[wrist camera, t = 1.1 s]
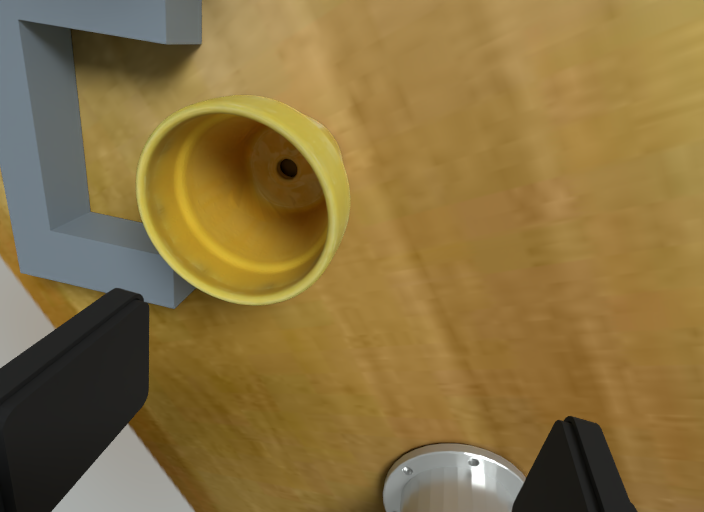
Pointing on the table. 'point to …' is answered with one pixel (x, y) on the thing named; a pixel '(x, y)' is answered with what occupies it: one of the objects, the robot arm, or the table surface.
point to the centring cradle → (74, 145)
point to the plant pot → (243, 198)
